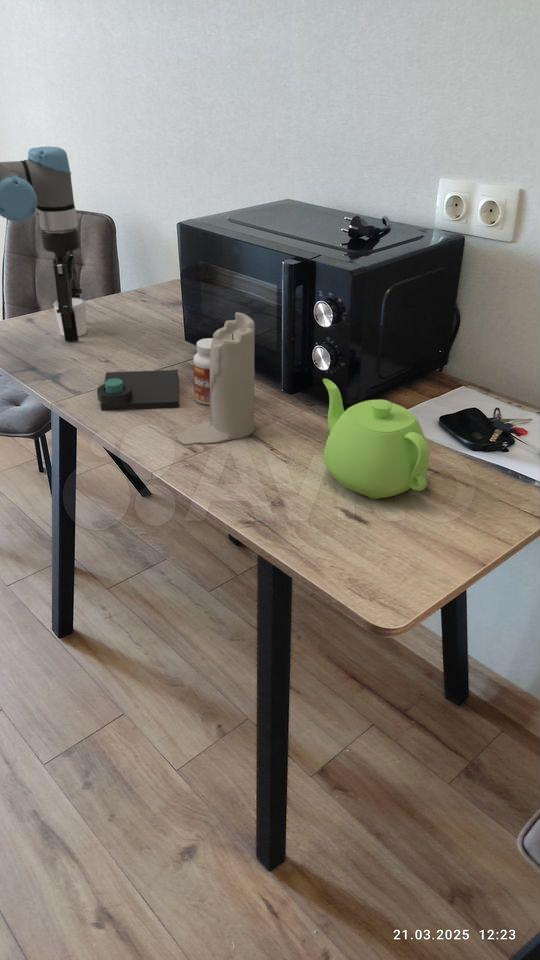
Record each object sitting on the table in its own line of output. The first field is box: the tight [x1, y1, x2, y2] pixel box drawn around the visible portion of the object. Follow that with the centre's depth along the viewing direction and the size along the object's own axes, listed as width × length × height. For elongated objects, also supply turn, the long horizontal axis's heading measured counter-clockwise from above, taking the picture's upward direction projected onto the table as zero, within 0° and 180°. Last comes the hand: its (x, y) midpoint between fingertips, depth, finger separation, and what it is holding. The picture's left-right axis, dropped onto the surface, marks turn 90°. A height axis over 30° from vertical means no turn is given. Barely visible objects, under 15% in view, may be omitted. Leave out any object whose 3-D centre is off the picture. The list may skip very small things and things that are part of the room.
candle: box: [173, 311, 256, 445], centre depth 115 cm, size 7×14×20 cm, turn 115°
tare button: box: [104, 378, 124, 394], centre depth 127 cm, size 3×3×2 cm
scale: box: [96, 369, 180, 411], centre depth 132 cm, size 14×14×3 cm
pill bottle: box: [192, 337, 213, 406], centre depth 129 cm, size 6×6×11 cm
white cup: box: [52, 297, 87, 337], centre depth 156 cm, size 7×7×7 cm
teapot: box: [322, 378, 431, 500], centre depth 107 cm, size 22×15×13 cm
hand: (74, 331), depth 158 cm, fingers open, 10 cm apart
